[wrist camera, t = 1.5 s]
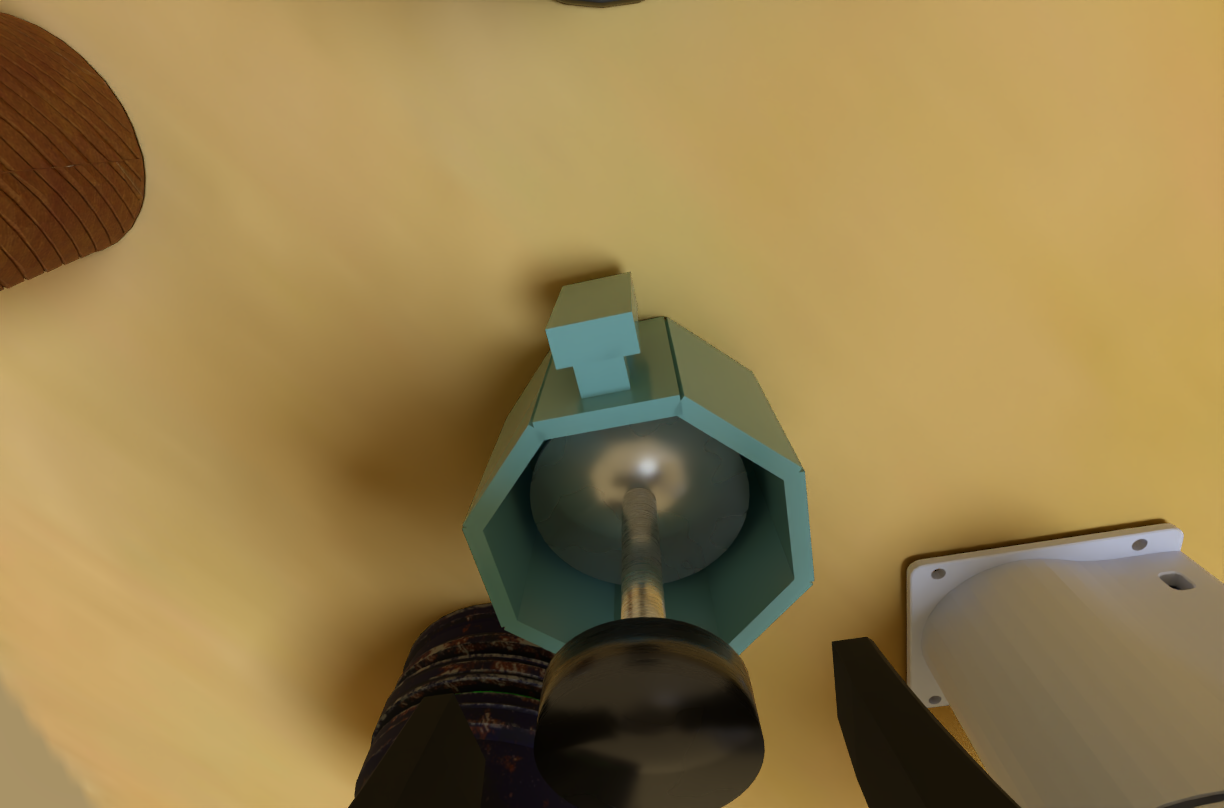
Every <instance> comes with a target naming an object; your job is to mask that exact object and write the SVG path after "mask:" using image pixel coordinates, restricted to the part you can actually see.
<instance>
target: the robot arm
mask: <svg viewBox="0 0 1224 808" xmlns="http://www.w3.org/2000/svg"><path fill="white" fill-rule="evenodd" d="M1183 538H1184V533H1183V532H1182V531H1181V530H1180V529H1179V528H1177V527H1176V526H1175V525H1173V524H1170V523H1163V524H1156V525H1149V526H1143V527H1136V528H1129V529H1123V530H1116V531H1109V532H1102V533H1096V534H1089V535H1082V536H1075V537H1069V538H1062V539H1055V540H1048V541H1042V542H1035V543H1028V544H1022V545H1015V546H1008V547H1001V548H995V549H988V550H981V551H974V552H968V553H961V554H954V555H947V556H941V557H934V558H927V559H921V560H917V561H914V562H913V563H911V564H910V565H909V567H908V569H907V684H906V683H905V681H904V680H903V679H902V678H901V677H900V675H899V674H898V673H897V672H896V670H895V669H894V668H893V667H892V665H891V664H890V663H889V662H888V660H887V659H886V658H885V656H884V655H883V654H882V653H881V651H880V650H879V649H878V647H877V646H876V644H875V643H874V642H873V641H872V640H871V639H869V638H868V637H862V638H855V639H847V640H840V641H833V642H832V651H833V664H834V677H835V690H836V703H837V716H838V720H839V723H840V726H841V730H842V733H843V736H844V739H845V742H846V746H847V749H848V752H849V755H850V758H851V761H852V765H853V768H854V771H855V774H856V777H857V780H858V782H859V785H860V787H861V790H862V792H863V795H864V797H865V799H866V802H867V804H868V807H869V808H1224V584H1223V583H1222V582H1221V581H1219V580H1218V579H1217V578H1215V577H1214V576H1213V575H1211V574H1210V573H1209V572H1208V571H1206V570H1205V569H1204V568H1202V567H1201V566H1200V565H1198V564H1197V563H1196V562H1194V561H1193V560H1192V559H1190V558H1189V557H1188V556H1186V555H1185V554H1184V553H1182V552H1181V551H1180V550H1181V546H1182V542H1183ZM936 569H939V570H937V571H935V572H933V571H934V570H936ZM948 705H950V707H951V709H952V710H953V712H954V714H955V716H956V717H957V719H958V721H959V723H960V724H961V726H962V728H963V730H964V732H965V733H966V735H967V737H968V739H969V740H970V742H971V744H972V746H973V748H974V749H975V751H976V753H977V755H978V756H979V758H980V760H981V762H982V764H983V765H984V767H985V769H986V771H987V772H988V774H989V775H988V774H987V773H986V772H985V771H984V769H983V768H982V767H981V766H980V765H979V764H978V763H977V762H976V761H975V760H974V759H973V758H972V757H971V756H970V755H969V754H968V753H967V751H966V750H965V749H964V748H963V747H962V746H961V745H960V744H959V743H958V742H957V741H956V740H955V739H954V737H953V736H952V735H951V734H950V733H949V732H948V731H947V730H946V729H945V728H944V727H943V726H942V724H941V723H940V722H939V721H938V720H937V719H936V718H935V717H934V715H933V714H932V713H931V712H930V711H929V710H928V709H927V708H931V707H940V706H948ZM485 761H486V760H485V758H484V756H483V753H482V751H481V749H480V747H479V745H478V743H477V741H476V739H475V737H474V735H473V733H472V731H471V729H470V726H469V724H468V722H467V720H466V718H465V716H464V714H463V712H462V710H461V708H460V706H459V704H458V701H457V699H456V697H455V695H454V693H450V694H443V695H436V696H428V697H424V698H423V699H422V701H421V702H420V703H419V705H418V706H417V708H416V709H415V711H414V712H413V714H412V715H411V716H410V718H409V719H408V721H407V722H406V724H405V725H404V727H403V728H402V730H401V731H400V733H399V734H398V736H397V737H396V739H395V740H394V742H393V743H392V745H391V746H390V748H389V749H388V751H387V752H386V754H385V755H384V757H383V758H382V759H381V761H380V762H379V764H378V765H377V767H376V768H375V770H374V771H373V773H372V774H371V776H370V777H369V779H368V780H367V781H366V783H365V784H364V786H363V787H362V789H361V790H360V791H359V793H358V794H357V796H356V797H355V799H354V800H353V801H352V803H351V804H350V806H349V807H348V808H480V805H481V798H482V789H483V780H484V771H485Z"/></svg>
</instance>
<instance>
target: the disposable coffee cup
mask: <svg viewBox="0 0 1224 808" xmlns="http://www.w3.org/2000/svg"><path fill="white" fill-rule="evenodd" d="M142 159H143V158H142V155H141V152H140V149H139V146H138V143H137V140H136V137H135V134H134V132H133V129H132V126H131V124H130V122H129V120H128V118H127V116H126V114H125V112H124V110H123V108H122V106H121V105H120V103H119V102H118V100H117V99H116V97H115V96H114V94H113V93H112V92H111V90H110V89H109V87H108V86H107V84H106V83H105V82H104V80H103V79H102V78H101V77H100V76H99V75H98V74H97V73H96V72H95V71H94V70H93V69H92V68H91V67H90V66H89V65H88V64H87V63H86V62H85V60H84V59H83V58H82V57H81V56H80V55H78V54H77V53H76V52H75V51H74V50H72V49H71V48H70V47H69V46H67V45H66V44H65V43H64V42H63V41H61V40H60V39H58V38H56V37H55V36H53V35H51V34H50V33H48V32H47V31H45V30H43V29H42V28H40V27H38V26H37V25H34V24H32V23H29V22H27V21H24V20H22V19H19V18H17V17H14V16H12V15H8V14H4V13H0V291H1V290H3V289H4V287H6V288H10V287H12V286H14V285H16V284H18V283H21V282H23V281H24V278H25V279H27V280H30V279H32V278H34V277H36V276H38V275H40V274H42V273H44V271H46V272H49V271H51V270H53V269H55V268H57V267H59V266H61V265H62V264H64V265H65V264H68V263H70V262H72V261H74V260H77V259H79V257H80V258H82V257H85V256H87V255H89V254H91V253H94V252H97V251H101V250H103V249H105V248H107V247H109V246H111V245H113V244H115V243H116V242H118V241H119V240H120V239H121V238H122V237H123V236H124V235H125V233H126V232H127V231H128V230H129V229H130V228H131V227H132V225H133V223H134V221H135V219H136V217H137V215H138V213H139V211H140V208H141V205H142V201H143V194H144V169H143V160H142Z"/></svg>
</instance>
